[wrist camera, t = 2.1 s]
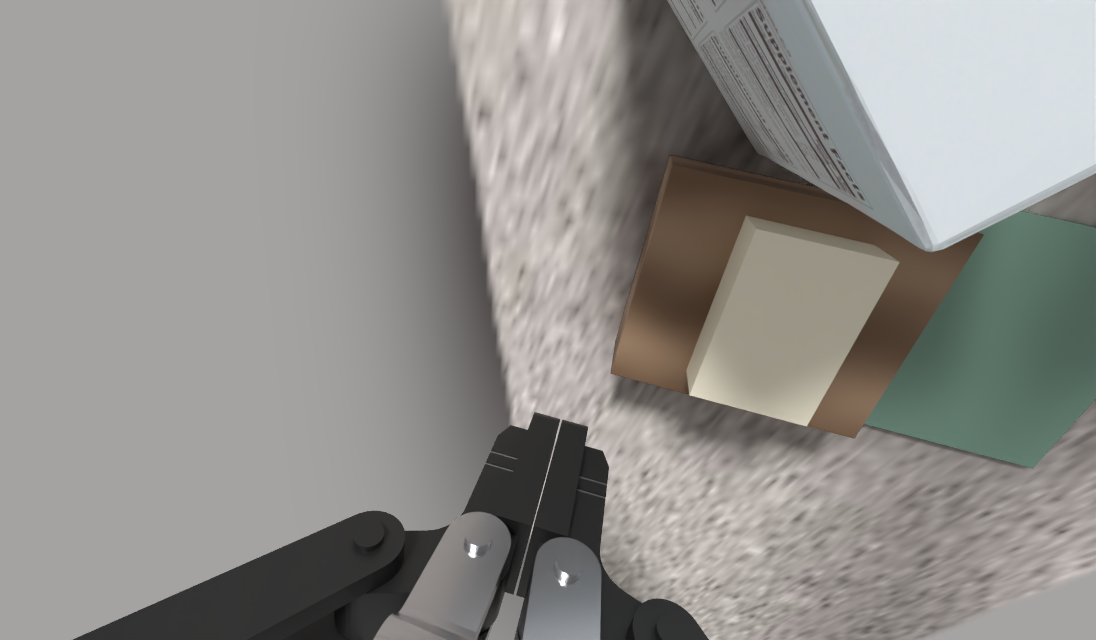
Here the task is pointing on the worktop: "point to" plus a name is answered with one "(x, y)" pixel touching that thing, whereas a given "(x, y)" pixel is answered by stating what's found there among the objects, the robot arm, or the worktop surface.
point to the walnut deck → (700, 261)
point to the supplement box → (911, 100)
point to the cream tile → (785, 318)
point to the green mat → (1005, 346)
